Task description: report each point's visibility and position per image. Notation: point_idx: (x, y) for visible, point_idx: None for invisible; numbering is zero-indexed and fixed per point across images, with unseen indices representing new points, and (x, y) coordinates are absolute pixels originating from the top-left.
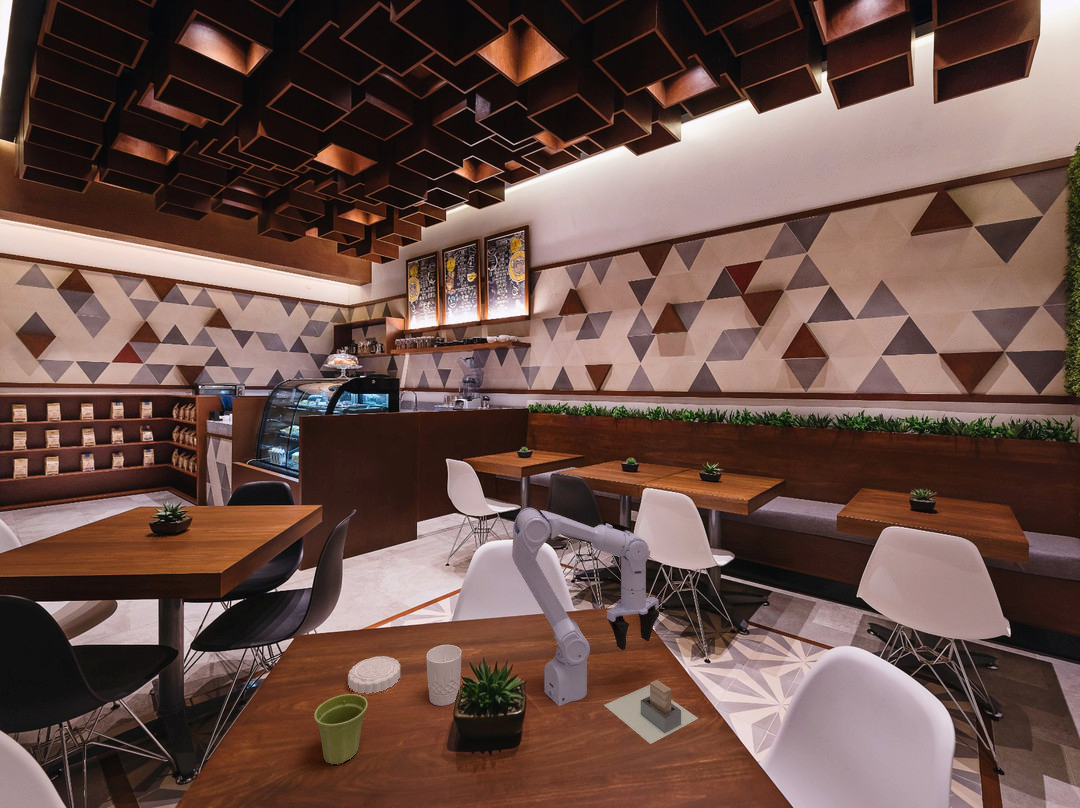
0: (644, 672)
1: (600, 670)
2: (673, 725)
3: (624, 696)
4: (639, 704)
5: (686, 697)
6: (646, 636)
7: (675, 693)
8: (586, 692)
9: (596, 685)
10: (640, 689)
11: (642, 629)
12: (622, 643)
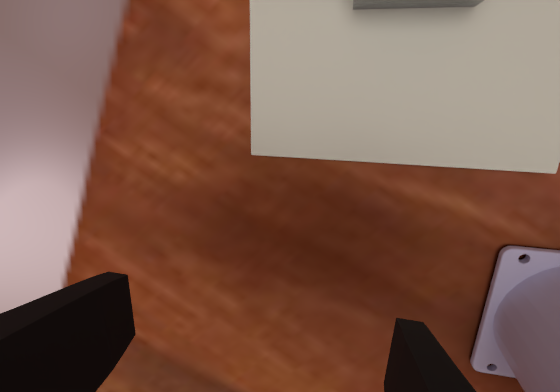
0: (197, 236)
1: (329, 342)
2: None
3: (414, 161)
4: (409, 73)
5: (165, 15)
6: (101, 308)
7: (186, 65)
8: (543, 281)
9: (419, 295)
10: (311, 155)
11: (74, 390)
12: (462, 381)
